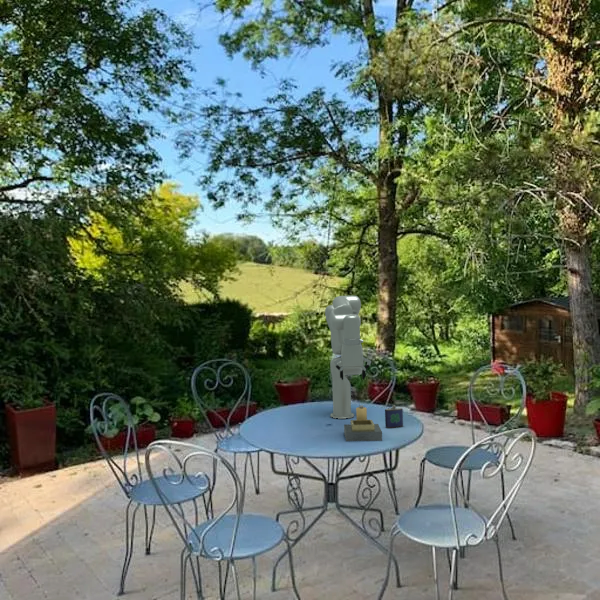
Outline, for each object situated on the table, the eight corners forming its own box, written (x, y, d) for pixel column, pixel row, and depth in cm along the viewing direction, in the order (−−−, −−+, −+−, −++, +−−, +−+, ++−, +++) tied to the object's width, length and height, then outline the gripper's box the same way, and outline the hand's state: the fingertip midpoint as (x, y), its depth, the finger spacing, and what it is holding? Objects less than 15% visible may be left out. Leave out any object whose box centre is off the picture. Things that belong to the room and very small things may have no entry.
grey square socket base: (344, 432, 250) (343, 419, 250) (378, 432, 250) (377, 418, 250) (346, 441, 236) (345, 426, 236) (382, 440, 236) (381, 426, 236)
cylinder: (356, 427, 259) (355, 404, 259) (366, 427, 259) (365, 404, 259) (357, 430, 254) (356, 406, 254) (367, 430, 254) (367, 406, 254)
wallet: (401, 425, 261) (401, 403, 261) (404, 426, 258) (403, 405, 258) (384, 427, 259) (383, 405, 258) (387, 428, 256) (386, 406, 256)
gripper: (369, 341, 248) (370, 377, 249) (332, 341, 249) (333, 378, 250) (371, 342, 241) (372, 380, 241) (333, 343, 242) (334, 381, 242)
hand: (352, 379), depth 245 cm, fingers open, 9 cm apart
